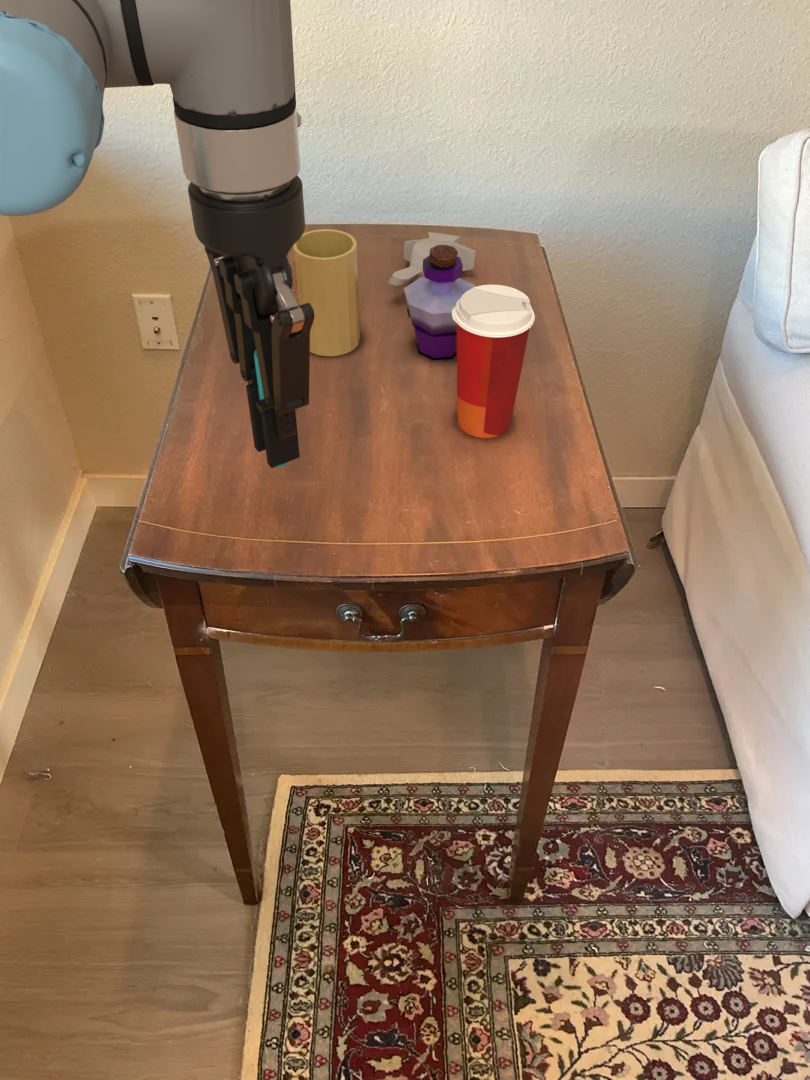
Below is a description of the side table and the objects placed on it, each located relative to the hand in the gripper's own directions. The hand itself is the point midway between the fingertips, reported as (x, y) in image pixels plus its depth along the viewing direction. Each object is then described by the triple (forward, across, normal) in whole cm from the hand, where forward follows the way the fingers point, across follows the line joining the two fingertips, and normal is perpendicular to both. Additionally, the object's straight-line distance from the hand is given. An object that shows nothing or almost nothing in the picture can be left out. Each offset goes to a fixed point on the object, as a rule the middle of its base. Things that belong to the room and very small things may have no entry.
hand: (277, 452), depth 72 cm
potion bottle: (+8, +16, -28) cm, 33 cm away
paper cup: (+8, +2, -24) cm, 26 cm away
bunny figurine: (+8, +29, -36) cm, 47 cm away
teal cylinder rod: (+1, 0, 0) cm, 1 cm away
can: (+8, +24, -18) cm, 31 cm away
